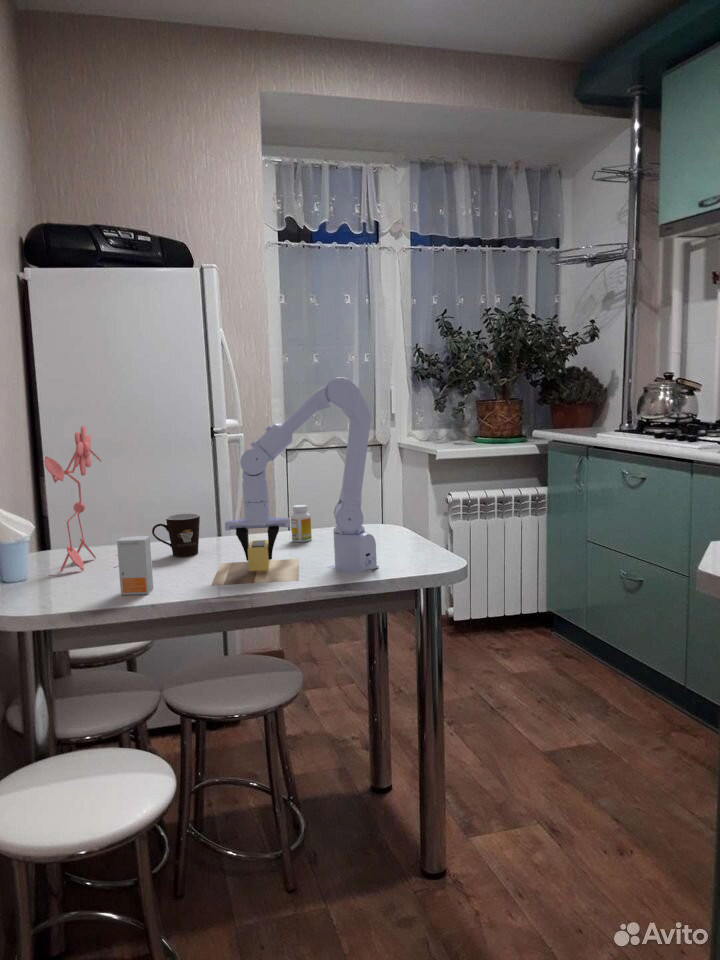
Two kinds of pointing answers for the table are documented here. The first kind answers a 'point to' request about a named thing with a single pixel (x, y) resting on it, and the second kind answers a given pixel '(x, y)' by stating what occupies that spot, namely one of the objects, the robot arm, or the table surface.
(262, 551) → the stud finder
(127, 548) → the skincare box
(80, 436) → the figurine
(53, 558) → the table surface
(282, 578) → the subfloor board
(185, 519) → the coffee mug
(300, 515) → the supplement bottle
